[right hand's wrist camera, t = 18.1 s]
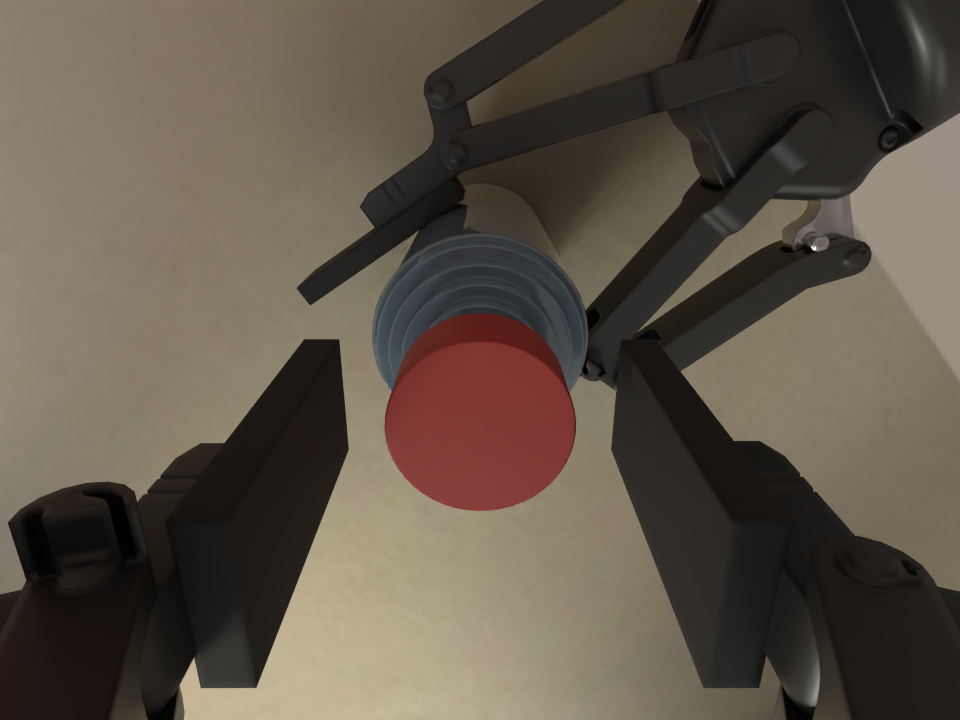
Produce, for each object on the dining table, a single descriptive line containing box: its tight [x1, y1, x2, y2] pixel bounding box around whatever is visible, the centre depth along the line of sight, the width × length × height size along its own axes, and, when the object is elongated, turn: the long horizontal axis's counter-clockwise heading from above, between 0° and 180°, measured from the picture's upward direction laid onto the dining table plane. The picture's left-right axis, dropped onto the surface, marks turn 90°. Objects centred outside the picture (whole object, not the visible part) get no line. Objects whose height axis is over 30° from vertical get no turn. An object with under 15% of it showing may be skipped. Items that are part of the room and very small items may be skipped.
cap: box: [385, 313, 576, 511], centre depth 13 cm, size 4×4×2 cm
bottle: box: [372, 183, 588, 392], centre depth 21 cm, size 6×6×17 cm
